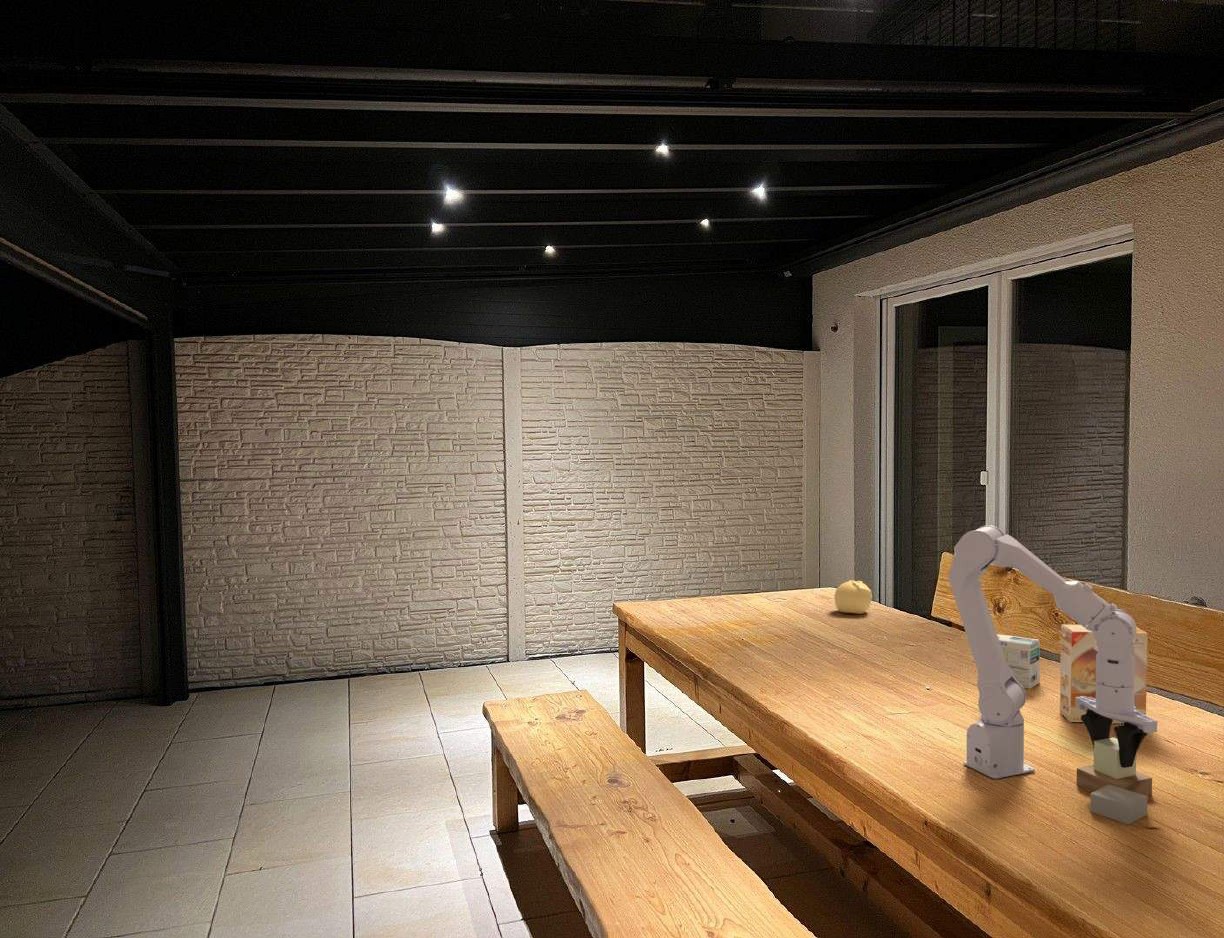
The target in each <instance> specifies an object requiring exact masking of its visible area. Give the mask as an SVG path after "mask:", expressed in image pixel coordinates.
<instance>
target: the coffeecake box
mask: <svg viewBox="0 0 1224 938" xmlns="http://www.w3.org/2000/svg"><path fill="white" fill-rule="evenodd" d="M1087 626H1088V625H1087ZM1087 626H1086V627H1087ZM1086 627H1085V628H1084V627H1083V626H1082V625H1080V624H1067V623H1066V624H1060V664H1059V667H1060V669H1059V670H1060V671H1059V672H1060V673H1059V679H1060V680H1059V683H1060V684H1059V685H1060V686H1059V713H1060V714H1061V715H1062V716H1063V715H1064V717H1066V718H1067V719H1066V718H1065V719H1066V720H1067V721H1068V722H1069V723H1070V722H1082V720H1081V715H1084V714H1086V713H1087V710H1085V709H1078V708H1075V697H1080V696H1085V697H1089V698H1093V699H1096V655H1097V654H1098V643H1097V642H1096V640H1095V638H1094V635H1093V632H1092V631H1089V630H1087V629H1086ZM1133 647H1134V654H1133V656H1134V659H1135V675H1134V706H1135V707H1136V710H1137V711H1138V712H1140V713H1142V714H1144V715H1146V716H1147V685H1148V684H1147V681H1148V680H1147V677H1148V675H1147V674H1148V671H1147V670H1148V668H1147V667H1148V632H1146V631H1145V630H1144V629H1140V628H1139V627H1137V631H1136V635H1135V637H1134V639H1133ZM1112 723H1120V724H1119V725H1124V723H1123V724H1121V723H1122V722H1119V721H1116V720H1113V722H1112Z"/></svg>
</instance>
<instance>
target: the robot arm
mask: <svg viewBox="0 0 1224 938" xmlns="http://www.w3.org/2000/svg"><path fill="white" fill-rule="evenodd" d="M953 551H954V553H953V557H952V561H951V566H950V569H949V573H948V582H949V585H950V587H951V591H952V594H953V597H954V601H955V604H956V607H957V609H958V613H959V615H960V619H961V622H962V625H963V628H964V631H965V634H966V637H967V641H968V644H969V647H970V650H971V652H972V654H971V655H972V656H973V660H974V663H975V666H976V669H977V680H976V681H977V682H976V683H977V684H976V687H977V690H978V693H979V694H978V695H979V696H978V700H977V701H978V702H977V703H978V704H977V706H978V709H979V713H980V718H979V720H978V721H977V722H975V723H974V722H973V723H972V724H970V725H969V727H968V728H967V730H966V760H964V761H963V765H965V766H966V767H969V768H971V769H973V770H975V771H978V772H979V773H981V774H983V775H986V777H987V776H988V777H989V778H992V779H995V780H996V779H1001V778H1006V777H1011V776H1016V775H1022V774H1028V773H1033V772H1036V769H1035V768H1034V767H1032V766H1031V765H1028V764H1026V763H1025V759H1024V757H1025V756H1024V754H1025V753H1024V752H1025V751H1024V749H1025V748H1024V746H1025V743H1024V742H1025V718H1024V716H1023V715H1022V712H1021V709H1022V708H1023V707H1024V705H1025V704H1026V701H1027V692H1026V690H1025V688H1023V686H1022V685H1021V684H1020V683H1019V682H1018V681H1017V680H1016V678H1015V676H1014V673H1013V670H1012V669H1011V668H1010V667H1009V666H1008V664H1007V663H1006V660H1005V657H1004V654H1003V651H1002V648H1001V645H1000V642H999V639H998V636H997V634H998V633H997V630H996V626H995V624H994V621H993V617H992V614H991V611H990V609H989V606H988V602H987V599H986V596H985V593H984V590H983V587H982V584H981V579H982V577H983V576H984V574H985V573H986V572H987V570H988V568H989V566H990V565H991V564H993V566H995V567H1005V568H1007V567H1008V568H1014V569H1016V570H1017V571H1018V572H1020V573H1021V574H1023V575H1024V576H1026V577H1027V578H1029V579H1030V580H1031V581H1033V582H1034V583H1035V584H1037V585H1039V587H1042V588H1043V589H1045V590H1046V591H1047V592H1049V593H1050V594H1051V595H1053V597H1054V602H1055V606H1056V607H1057V608H1058V609H1060V610H1061V611H1062V612H1063V613H1065V614H1066V615H1067V616H1069V617H1070V618H1071V619H1073V621H1075V622H1077V624H1078V625H1082V626H1083V627H1084V628H1085V627H1086V626H1087V625H1088V626H1087V627H1086V629H1087V630H1089V631H1092V632H1093V635H1094V638H1095V640H1096V642H1097V643H1098V654H1097V655H1096V699H1093V698H1089V697H1085V696H1080V697H1075V708H1078V709H1085V710H1087V713H1086V714H1084V715H1081V720H1082V722H1083V723H1082V724H1083V725H1084V726H1085V728H1086V731H1087V733H1088V735H1089V738H1090V741H1091V743H1092V747H1093V749H1094V741H1097V740H1103V739H1108V738H1110V735H1111V728H1112V725H1113V724H1112V722H1113V720H1116V721H1119V722H1122V723H1124V724H1121V725H1117V726H1114V727H1113V730H1114V733H1115V735H1116V739H1118V745H1119V758H1120V765H1121V767H1123V768H1127V767H1132V766H1133V763H1134V759H1135V756H1136V757H1137V752H1138V750H1139V748H1140V746H1141V744H1142V742H1143V741H1144V740H1145V737H1146V736H1147V735H1148V734H1153V733H1157V732H1158V720H1157V719H1154V718H1152V717H1150V716H1147V714H1146V715H1144V714H1142V713H1140V712H1138V711H1137V710H1136V707H1135V706H1134V675H1135V659H1134V656H1133V654H1134V647H1133V639H1134V637H1135V635H1136V631H1137V623H1136V621H1135V619H1134V618H1133V617H1132V616H1131V615H1130V614H1129V612H1128V611H1126V610H1123V609H1118V606H1117V605H1116V604H1115V603H1113V602H1112V603H1111V604H1110V603H1109V602H1107V601H1106V600H1105V599H1103V598H1102V597H1101V596H1099V595H1098V594H1097V593H1095V592H1094V591H1092V590H1093V589H1094V586H1092V585H1090V584H1089V583H1088V582H1085V584H1083V583H1082V582H1080V581H1079V580H1074V581H1073V580H1072V581H1071V580H1070V581H1069V580H1066V579H1064V578H1063V577H1062V576H1061V575H1059V574H1058V573H1057V572H1056V571H1055V570H1053V569H1052V568H1051V567H1050V566H1049V565H1047V563H1045V562H1044V561H1042V560H1041V559H1040V558H1039V557H1037V556H1036V555H1035V554H1034V553H1032V551H1030V550H1029V549H1027V548H1026V547H1025V546H1024V545H1022V543H1020V542H1019V541H1018V540H1017V539H1016V538H1014V537H1013V536H1011V535H1010V534H1008V533H1007V534H1005V533H1004V531H1003V530H1001V529H1000V528H998V527H997V526H993V525H990V524H989V525H988V524H987V525H983V526H980V527H978V528H977V529H975V530H971V531H966V532H965V534H963V536H962V537H961V538H960V539H959V540H958V542H957V543H956V544H955V546H954V547H953Z"/></svg>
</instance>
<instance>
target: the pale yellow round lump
mask: <svg viewBox="0 0 1224 938" xmlns="http://www.w3.org/2000/svg"><path fill="white" fill-rule="evenodd" d="M872 600H873V592H872V590H871V589H870V588H869V586H868V585H867V584H865V583H864V582H863V581H862V580H857V581H856V580H854V579H853V580H852V579H849V580H848V581H846V582H842V583H841V584H840V585H839V586H838V587H837V588H836V590H835V592H834V604H835V607H836V609H837V610H838V611H839V612H840V613H846V614H847V613H848V614H850V613H851V614H857V615H858V614H859V615H862V614H865V613H866V612H867V611H868V610H869V609H870V608H871V603H872Z"/></svg>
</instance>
